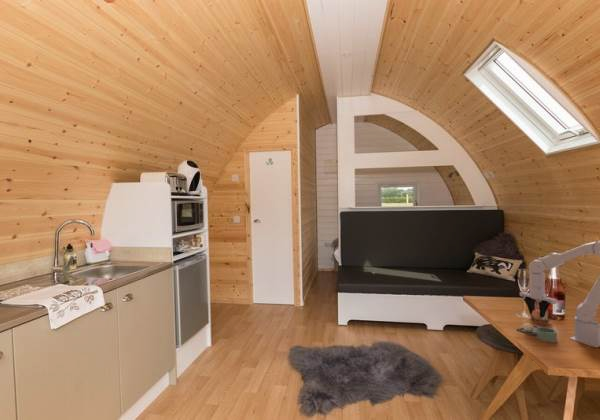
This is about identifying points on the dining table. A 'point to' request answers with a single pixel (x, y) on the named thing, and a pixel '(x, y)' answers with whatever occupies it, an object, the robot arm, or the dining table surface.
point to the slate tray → (529, 332)
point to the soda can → (536, 307)
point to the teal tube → (546, 334)
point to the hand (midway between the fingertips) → (537, 315)
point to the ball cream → (528, 327)
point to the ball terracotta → (536, 314)
